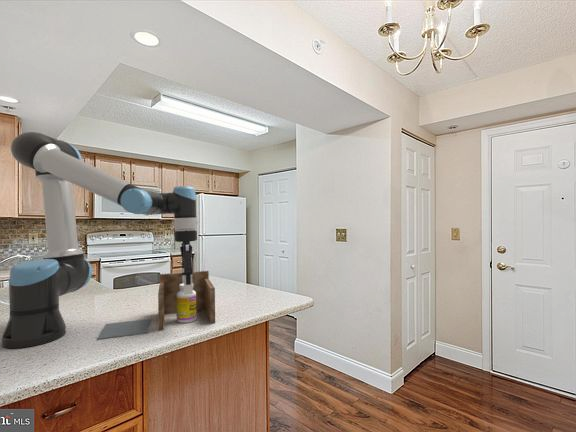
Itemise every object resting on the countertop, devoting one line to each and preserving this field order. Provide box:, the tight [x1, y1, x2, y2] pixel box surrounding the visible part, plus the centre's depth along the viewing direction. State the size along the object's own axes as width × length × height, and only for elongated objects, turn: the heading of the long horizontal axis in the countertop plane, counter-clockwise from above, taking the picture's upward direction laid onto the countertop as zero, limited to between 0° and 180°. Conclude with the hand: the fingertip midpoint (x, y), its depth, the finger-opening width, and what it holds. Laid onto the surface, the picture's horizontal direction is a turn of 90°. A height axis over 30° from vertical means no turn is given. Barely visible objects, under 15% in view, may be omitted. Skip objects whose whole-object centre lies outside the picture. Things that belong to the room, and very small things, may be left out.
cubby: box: [157, 270, 216, 331], centre depth 111 cm, size 18×20×15 cm
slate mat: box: [96, 318, 152, 341], centre depth 101 cm, size 14×14×1 cm
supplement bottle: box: [176, 283, 197, 324], centre depth 109 cm, size 7×7×13 cm
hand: (187, 289), depth 109 cm, fingers open, 13 cm apart
